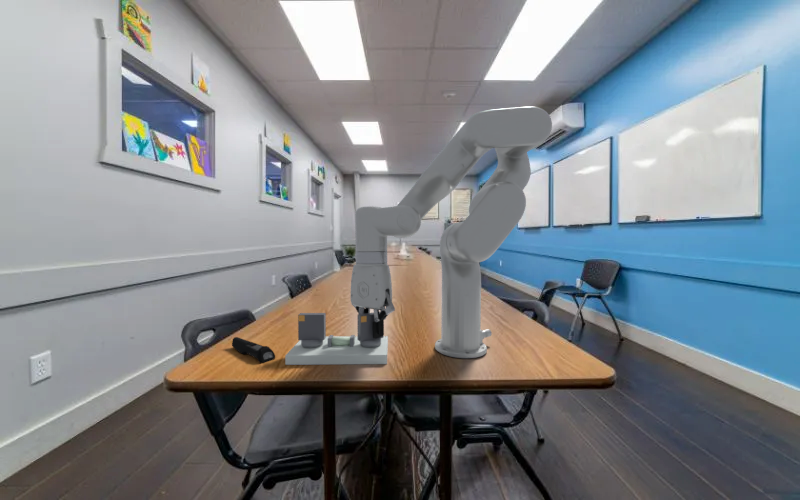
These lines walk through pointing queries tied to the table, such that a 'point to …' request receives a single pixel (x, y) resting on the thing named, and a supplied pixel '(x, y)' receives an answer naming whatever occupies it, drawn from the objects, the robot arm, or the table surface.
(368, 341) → the knob
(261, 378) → the table surface
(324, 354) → the level plate
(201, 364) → the table surface
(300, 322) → the knob
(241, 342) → the electric trimmer
